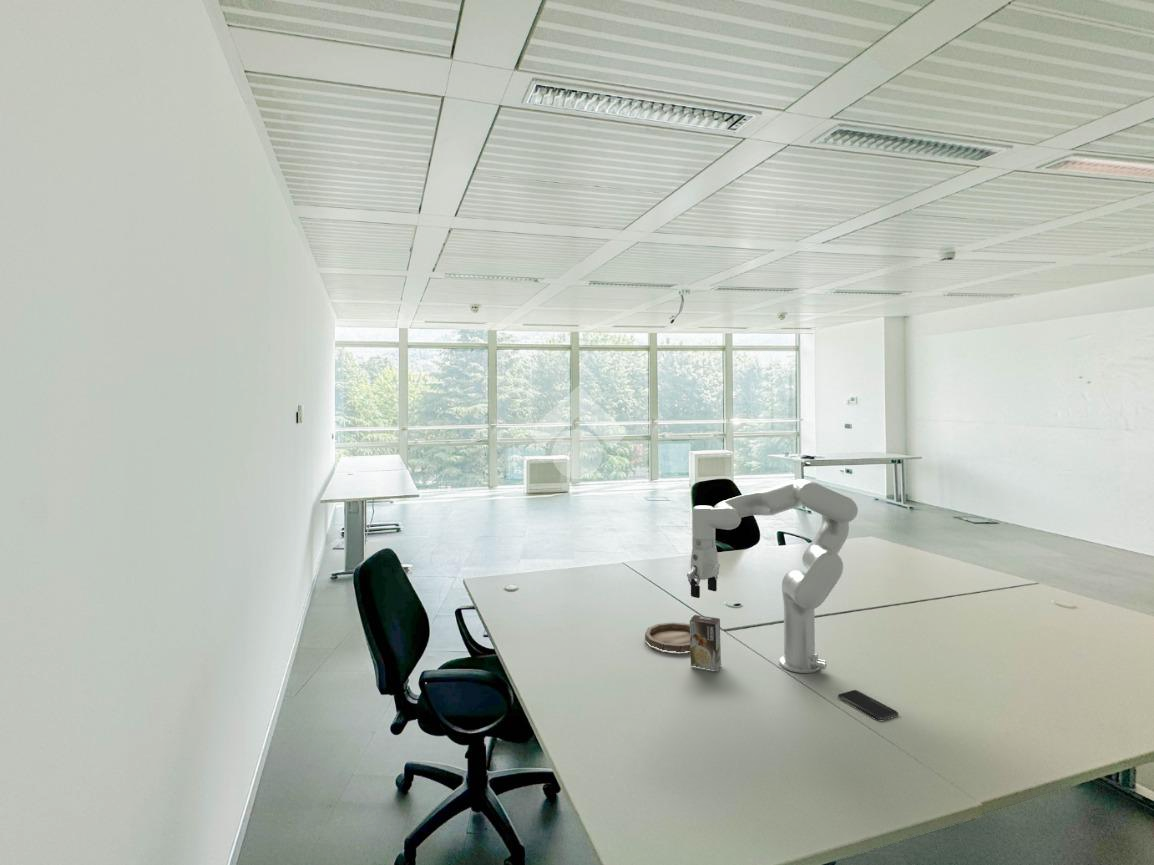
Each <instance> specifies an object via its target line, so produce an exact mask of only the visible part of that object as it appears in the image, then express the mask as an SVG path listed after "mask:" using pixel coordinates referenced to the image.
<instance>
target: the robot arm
mask: <svg viewBox="0 0 1154 865" xmlns="http://www.w3.org/2000/svg"><path fill="white" fill-rule="evenodd" d="M799 507H804V508H806V509H808V510H811V511H813V512H814V513H816V514H820V515H821V525H820V528H819V530H818V532H817V533H816V535H815V537H813V539H812V541H811V542H810V543H809V545H808V546H807V548H806V549H805V551H804V552H803V554H802V564H803V566H804V567H805V568H806V569H807V571H806V572H804V571H802V570H798V569H794V570H790V571H788V572H787V573H785V574H784V576H783V578H782V580H781V594H782V600H783V633H784V634H783V636H784V637H783V643H784V644H783V645H784V651H783V652H784V654H783V655H781V657H780V658H779V665H780V666H781V667H782V668H784V669H785V670H787V671H790V672H793V673H798V674H799V673H800V674H812V673H815V672H817V671H819V670H820V669H822V670H826V669H827V660H825V659H821V658H819V654H818V653H817V652H816V650H815V649H816V646H815V645H816V643H815V637H816V636H815V631H816V630H815V609H817V608H819V607H821V605H822V604H823V603H824V602H825V601H826V599H827V598H828V596H829V595H830V593H831V592H832V591H833V589H834V588H835V586H836V584H837V583H838V582H839V580H840V578H841V577H842V575H843V573H844V572H843V571H844V563H843V560H842V558H841V556H840V555H839V553H840V551H841V549H842V548H843V546H844V545H845V542H846V541H847V538H848V536H849V532H850V523H851V522H852V521H853V520H855V519H856V517H857V515H858V513H859V512H858V510H859V509H858V506H857V503H856V502H855V501H854V500H853V499H852V498H851V497H848V496H846V495H844V494H842V493H839V492H838V491H834V490H832V489H830V488H827V487H825V486H823V485H821V484H819V483H818V482H815V481H812V480H809V479H805V478H798V479H795V480H791V481H789V482H786V483H785V482H784V483H782V484H780V485H777V486H773V487H771V488H767V489H763V490H760V491H756V492H751V493H746V494H742V495H738V496H735V497H732V498H731V497H730V498H728V499H726V500H722V501H720V502H718V503H716V504H715V505H714V506H712V505H695V506H693V508H692V510H691V519H692V520H691V521H692V523H691V526H692V527H691V531H692V532H691V533H692V534H691V536H692V539H691V540H692V541H691V542H692V543H691V555H690V570H689V571H688V572H687V573H686V577H687V581H688V583H689V585H690V596H691V597H692V598H697V599H700V597H701V586H700V583H701V581H703V580H704V581H705V580H707V590H709V591H712V592H717V589H718V588H717V585H718V583H717V581H718V577H719V576H718V575H719V572H720V567H721V564H719V556H718V550H717V546H716V529H720V530H727V531H729V530H730V531H731V530H733V529H736V528H738V527H739V525H740V524H741V522H742V518H745V517H750V516H763V517H765V516H775V515H778V514H780V513H783V512H786V511H789V510H792V509H795V508H799Z"/></svg>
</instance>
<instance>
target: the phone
mask: <svg viewBox="0 0 1154 865" xmlns="http://www.w3.org/2000/svg"><path fill="white" fill-rule="evenodd" d="M837 698H838V699H839V698H840V699H841V700H840V699H839V700H840V701H842V700H843V701H842V702H844V701H845V702H847V703H849V704H850V705H849V704H848V705H849V706H851V705H852V706H854V707H856V708H857V709H856V708H855V709H856V710H858V709H859V710H858V711H860V710H861V711H862V713H863V712H864V713H863V714H865V713H866V714H865V715H866V716H868V715H869V716H868V717H870V716H871V717H870V718H872V717H873V718H872V719H874V718H875V719H877V720H876V721H878V720H884V721H886V720H885V719H887V720H889V719H888V718H890V719H892V718H891V717H894V716H897V715H898V716H899V712H898V711H897V710H895V709H894V708H891V707H890V706H888V705H886V704H883V703H882V702H880V701H878V700H876V699H874V698H872V697H870V696H868V695H866V694H865V693H863V692H861V691H859V690H856V689H853V690H849V691H845V692H842V693H839V694H837ZM845 702H844V703H845ZM847 703H846V704H847ZM852 706H851V707H852ZM854 707H853V708H854ZM861 711H860V712H861ZM898 716H897V717H898ZM894 718H895V717H894ZM875 719H874V720H875Z"/></svg>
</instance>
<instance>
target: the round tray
mask: <svg viewBox="0 0 1154 865" xmlns="http://www.w3.org/2000/svg"><path fill="white" fill-rule="evenodd" d="M645 640H646V641H647V642H648V643H649V644H650V645H651V646H654V647H657V648H659V649H662V650H667V651H676V652H685V651H690V623H685V622H682V623H681V622H664V623H657V624H654V625H652V626H650V627H647V629H646V632H644V641H645Z"/></svg>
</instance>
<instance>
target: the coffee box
mask: <svg viewBox="0 0 1154 865" xmlns="http://www.w3.org/2000/svg"><path fill="white" fill-rule="evenodd" d="M689 624H690V653H689V654H690V667H691V666H696V667H700V668H705V669H710V670H714V671H717V670H718V669H719V670H720V668H721V667H720V665H721V666H722V659H721V658H722V652H721V651H722V650H721V648H722V647H721V619H720V618H718V617H713V616H712V617H710V616H704V615H699V614H698V615H697V614H694V615H693V616H692V617H691V619H690V620H689ZM719 667H720V668H719ZM719 670H718V671H719Z"/></svg>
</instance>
